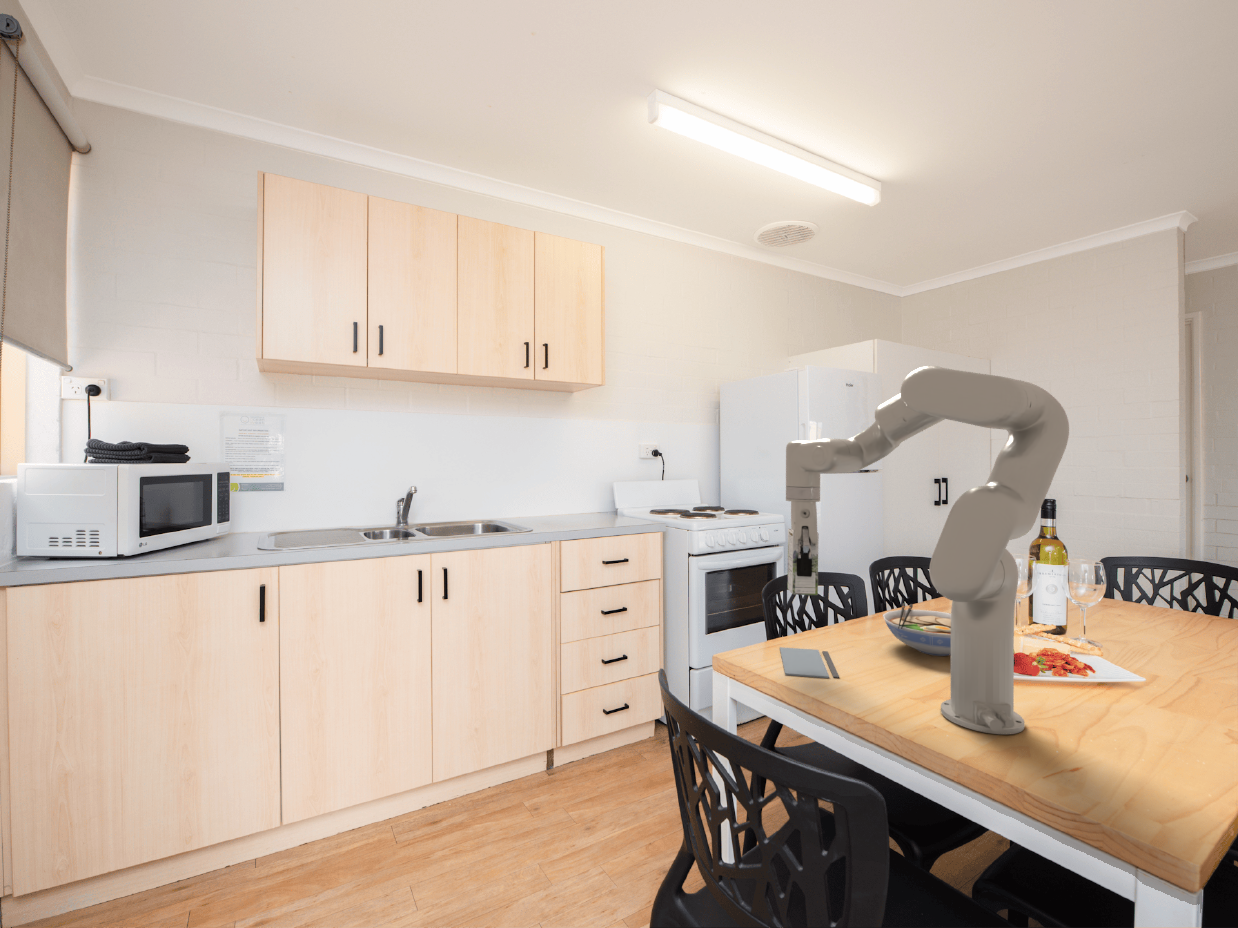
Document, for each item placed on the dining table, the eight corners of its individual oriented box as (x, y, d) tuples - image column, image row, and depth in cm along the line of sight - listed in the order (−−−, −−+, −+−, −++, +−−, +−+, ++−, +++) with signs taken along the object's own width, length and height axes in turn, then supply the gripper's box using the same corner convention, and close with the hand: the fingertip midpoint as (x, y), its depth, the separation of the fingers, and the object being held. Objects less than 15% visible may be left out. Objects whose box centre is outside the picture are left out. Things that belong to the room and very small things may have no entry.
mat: (829, 678, 122) (829, 676, 122) (785, 674, 124) (785, 673, 124) (818, 651, 140) (818, 649, 140) (779, 648, 142) (779, 647, 142)
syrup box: (812, 590, 135) (812, 528, 135) (818, 595, 129) (818, 530, 129) (787, 589, 135) (787, 527, 135) (792, 595, 129) (792, 530, 129)
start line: (839, 678, 122) (839, 676, 122) (833, 677, 122) (833, 676, 122) (827, 652, 139) (827, 651, 139) (822, 652, 139) (822, 650, 139)
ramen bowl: (991, 676, 123) (991, 638, 123) (875, 657, 135) (875, 622, 135) (988, 645, 145) (988, 612, 145) (888, 631, 157) (888, 601, 157)
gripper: (825, 497, 123) (825, 581, 123) (815, 493, 140) (815, 567, 140) (788, 496, 124) (788, 580, 124) (783, 492, 141) (782, 566, 141)
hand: (802, 572), depth 132 cm, fingers closed on syrup box, 6 cm apart
